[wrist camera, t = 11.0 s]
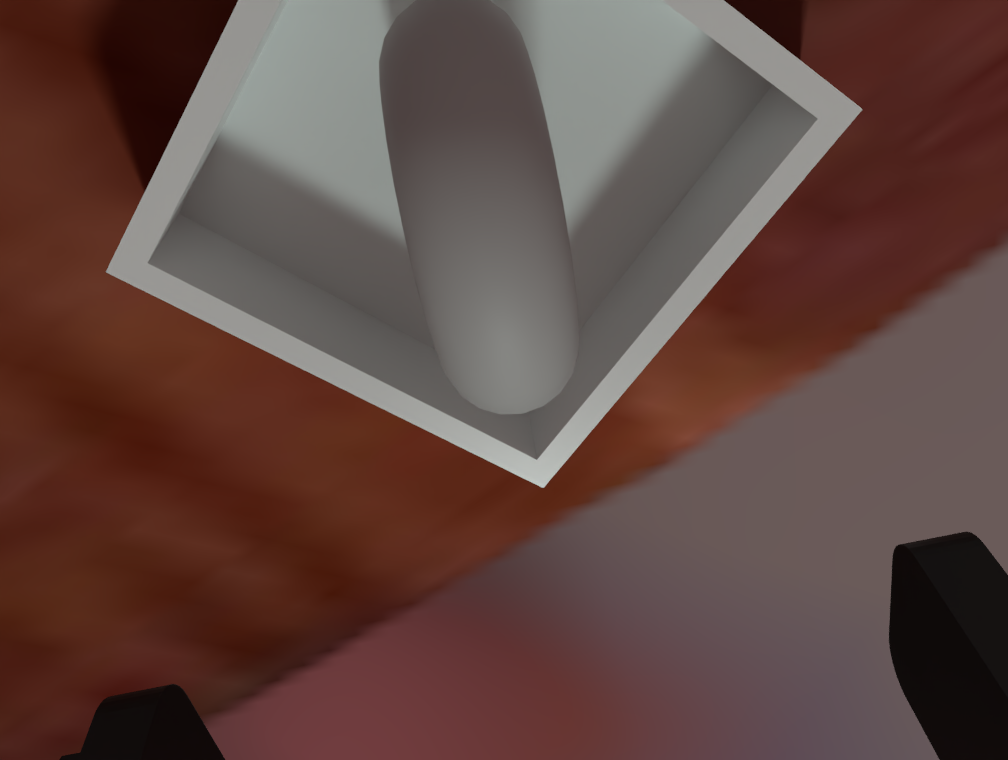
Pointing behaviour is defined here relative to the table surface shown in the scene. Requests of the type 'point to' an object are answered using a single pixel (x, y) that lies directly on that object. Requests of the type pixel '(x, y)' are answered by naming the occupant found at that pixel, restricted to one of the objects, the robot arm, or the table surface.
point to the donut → (480, 202)
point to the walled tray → (376, 218)
